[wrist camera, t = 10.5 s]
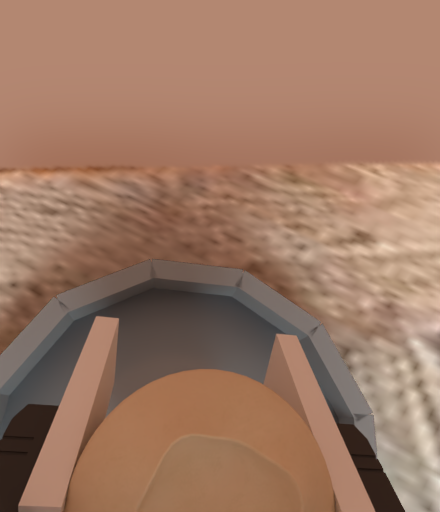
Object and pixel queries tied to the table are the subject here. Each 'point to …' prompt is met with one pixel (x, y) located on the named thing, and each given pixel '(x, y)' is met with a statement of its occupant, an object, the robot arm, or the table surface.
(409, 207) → the table surface
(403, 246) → the table surface
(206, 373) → the candle
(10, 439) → the robot arm
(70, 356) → the bowl
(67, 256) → the table surface
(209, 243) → the table surface
